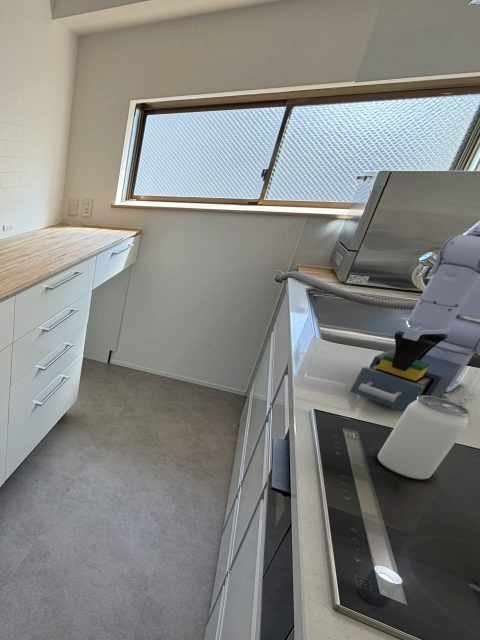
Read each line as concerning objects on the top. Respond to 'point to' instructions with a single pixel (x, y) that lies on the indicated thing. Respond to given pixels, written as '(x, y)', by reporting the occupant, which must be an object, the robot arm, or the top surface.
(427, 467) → the can
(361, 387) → the drawer
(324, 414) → the top surface
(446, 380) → the cabinet
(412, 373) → the sponge
